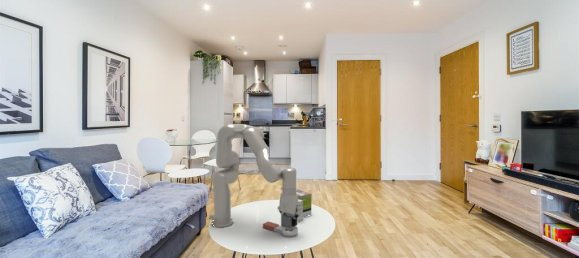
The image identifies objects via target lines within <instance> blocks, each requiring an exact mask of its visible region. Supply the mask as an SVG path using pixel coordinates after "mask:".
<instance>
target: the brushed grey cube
mask: <svg viewBox="0 0 579 258" xmlns="http://www.w3.org/2000/svg"><path fill="white" fill-rule="evenodd" d="M294 215H295V214H294ZM292 219H293V216H292V214H288V213H285V214H282V215H281V214H280V226H282V227H285V228H289V229H291V228H293V226H292ZM297 226H298V224H297V225H296V227H297ZM294 227H295V226H294Z"/></svg>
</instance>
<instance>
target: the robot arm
mask: <svg viewBox="0 0 579 258" xmlns="http://www.w3.org/2000/svg"><path fill="white" fill-rule="evenodd" d="M264 137H265V132H264V131H263V130H262V128H260V127H258V126H257V127H256V126H254V125H253V126H252V125H248V124H243V123H228V124H224V125H223V126H221V127H220V128H219V130H218V132H217V138H216V139H217V140H216V141H217V145H216V155H215V157H216V158H215V159H216V160H215V164H216V167H218V168H220V170H218V171H216V172H215V173H214V174H213V175H212V180H211V181H212V183H211V184H212V186H213V214H209V216H208V220H212V221H213V220H214V221H213V222H212V221H211V223H213V225H214V226H216V227H215V228H226V227H229V226H231V225H233V224H234V219H233V218H231V217H232V216H231V214H232V211H231V210H232V208H231V206H232V203H231V202H232V200H231V189H230V186H229V185H231V184H233V183H235V182H236V181H238V178H239V170H240V169H239V168H240V156H239V154H238V153H237V151H234V150H233V141H232V140H234V139H243V140H245V142H246V144H247V145H248V146H249V148H250V150H251V152H252V153H253V154H254V156H255V161H256V165H257V168H258V171H259V173H261V175H262V177H263V178H264V179H265V180H266V182H269V183H271V184H273V183H276V182H278V181H280V180H282V181H281V183H282V185H281V188H280V190H281V191H282V192H281V193H280V196H279V203H278V204H279V205H278V206H277V211H278V212H279V214H280V216H281V215H282V214H285V213H288V214H292V216H293V219H292V226H293V227H294V226H296V225H297V226H298V223H297V218H298V217H299V216H300V215H301V214H302V212H301V211H300V209H299V203H298V196H297V194H296V189H297V168H295V167H285V166H282V165H276V166H274V167H273V165H272V164H271V162H270V159H269V156H268V154H269V150H270V149H269V146H268V145H267V144H266V142H265V141H264ZM297 212H298V214H297ZM294 214H295V215H294ZM211 223H210V224H211ZM214 226H213V227H214ZM297 226H296V227H297Z"/></svg>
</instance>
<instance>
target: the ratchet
mask: <svg viewBox="0 0 579 258" xmlns="http://www.w3.org/2000/svg"><path fill="white" fill-rule="evenodd" d="M298 228H299V227H297V226H295V227H293V228H291V229H289V228H285V227H282V226H281V224H278V223H275V222H272V221H266V222H264V223H262V229H265V230H267V231H268V230H269V231H271V232H275V233H278V234H280V235H281V236H282V237H284V238H287V239H288V238H291V239H292V238H296V237H297V236H298V235H299V229H298Z"/></svg>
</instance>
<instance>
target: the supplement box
mask: <svg viewBox="0 0 579 258" xmlns="http://www.w3.org/2000/svg"><path fill="white" fill-rule="evenodd" d="M298 203H299V209H300V211H301V212H302V214H301V215H300V216H299V217H298V218H297V222H298V223H299V222H303V221H304V220H303V219H304V218H303V200H299V199H298ZM297 214H298V212H297Z"/></svg>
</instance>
